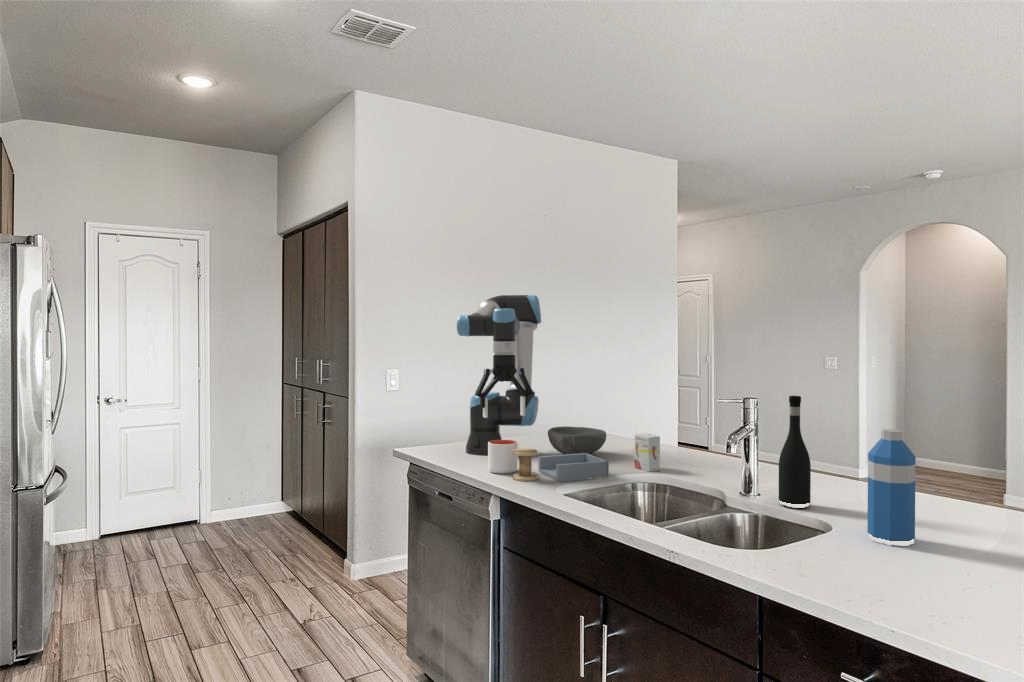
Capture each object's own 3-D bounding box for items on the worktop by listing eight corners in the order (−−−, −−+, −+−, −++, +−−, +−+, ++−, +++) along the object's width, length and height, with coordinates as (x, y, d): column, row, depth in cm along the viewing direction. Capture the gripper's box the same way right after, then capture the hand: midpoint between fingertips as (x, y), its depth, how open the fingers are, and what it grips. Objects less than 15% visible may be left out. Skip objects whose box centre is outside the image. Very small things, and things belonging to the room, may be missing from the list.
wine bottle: (786, 500, 185) (786, 394, 184) (815, 505, 179) (815, 396, 179) (773, 505, 179) (774, 395, 179) (803, 511, 174) (803, 398, 173)
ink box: (633, 467, 230) (633, 433, 230) (645, 466, 233) (645, 432, 232) (648, 472, 223) (648, 437, 222) (660, 470, 225) (660, 436, 225)
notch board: (538, 471, 223) (538, 456, 223) (585, 467, 229) (585, 453, 229) (558, 481, 208) (558, 465, 208) (608, 477, 214) (608, 461, 214)
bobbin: (509, 476, 215) (509, 449, 215) (531, 475, 218) (532, 447, 218) (518, 482, 207) (518, 453, 207) (541, 480, 210) (541, 452, 210)
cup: (518, 468, 228) (518, 439, 228) (516, 474, 218) (516, 444, 218) (490, 468, 229) (490, 439, 229) (486, 474, 219) (486, 444, 219)
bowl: (610, 460, 242) (610, 433, 242) (548, 460, 242) (548, 433, 242) (602, 449, 265) (602, 425, 265) (546, 449, 265) (546, 424, 265)
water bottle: (914, 549, 143) (915, 435, 143) (865, 542, 148) (866, 431, 148) (915, 538, 151) (915, 429, 151) (868, 531, 156) (869, 426, 156)
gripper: (472, 354, 215) (472, 419, 215) (542, 353, 224) (542, 416, 224) (465, 354, 222) (465, 416, 222) (533, 353, 231) (533, 413, 231)
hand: (504, 416), depth 223 cm, fingers open, 13 cm apart
